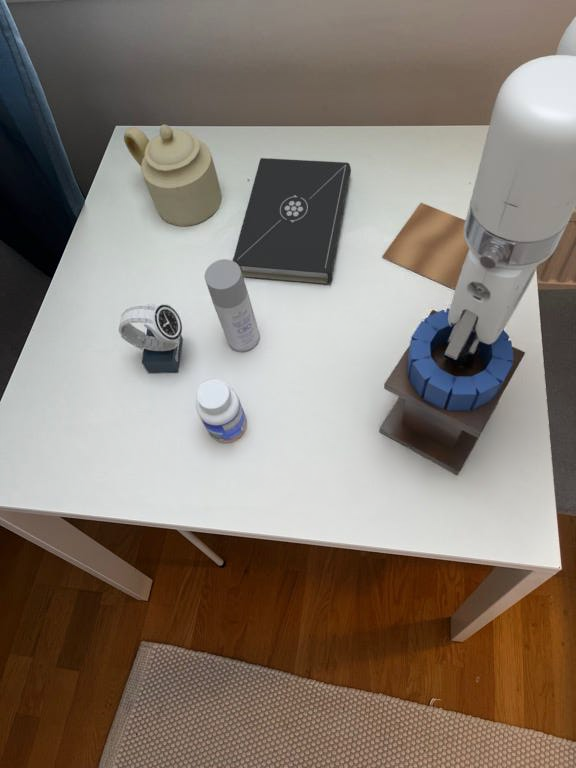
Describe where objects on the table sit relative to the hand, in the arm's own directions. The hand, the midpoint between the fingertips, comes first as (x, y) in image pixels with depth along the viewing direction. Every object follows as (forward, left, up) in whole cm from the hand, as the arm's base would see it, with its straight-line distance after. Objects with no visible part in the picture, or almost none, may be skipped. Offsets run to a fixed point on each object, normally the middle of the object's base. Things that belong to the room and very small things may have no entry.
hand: (473, 335), depth 62 cm
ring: (0, +4, -1) cm, 4 cm away
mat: (+13, -21, -15) cm, 29 cm away
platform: (0, +4, -15) cm, 16 cm away
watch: (+37, +15, -15) cm, 43 cm away
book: (+34, -14, -15) cm, 40 cm away
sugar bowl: (+54, -9, -15) cm, 57 cm away
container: (+29, +7, -15) cm, 33 cm away
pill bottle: (+23, +19, -15) cm, 33 cm away
